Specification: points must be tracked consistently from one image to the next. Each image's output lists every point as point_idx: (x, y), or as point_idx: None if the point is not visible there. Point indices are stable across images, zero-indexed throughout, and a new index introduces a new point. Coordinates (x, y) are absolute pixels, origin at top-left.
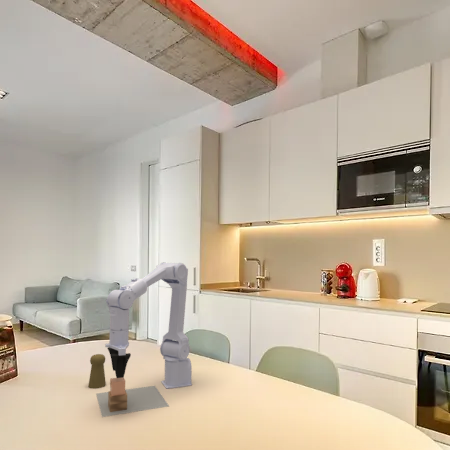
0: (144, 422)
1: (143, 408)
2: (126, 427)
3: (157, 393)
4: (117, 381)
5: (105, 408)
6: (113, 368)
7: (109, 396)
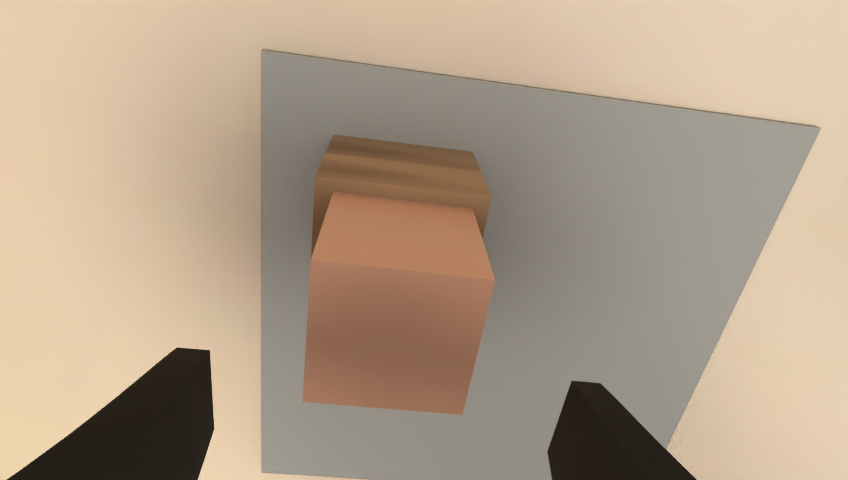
0: (66, 297)
1: (292, 350)
2: (8, 174)
3: (500, 475)
4: (324, 327)
5: (430, 120)
6: (582, 406)
7: (389, 178)
